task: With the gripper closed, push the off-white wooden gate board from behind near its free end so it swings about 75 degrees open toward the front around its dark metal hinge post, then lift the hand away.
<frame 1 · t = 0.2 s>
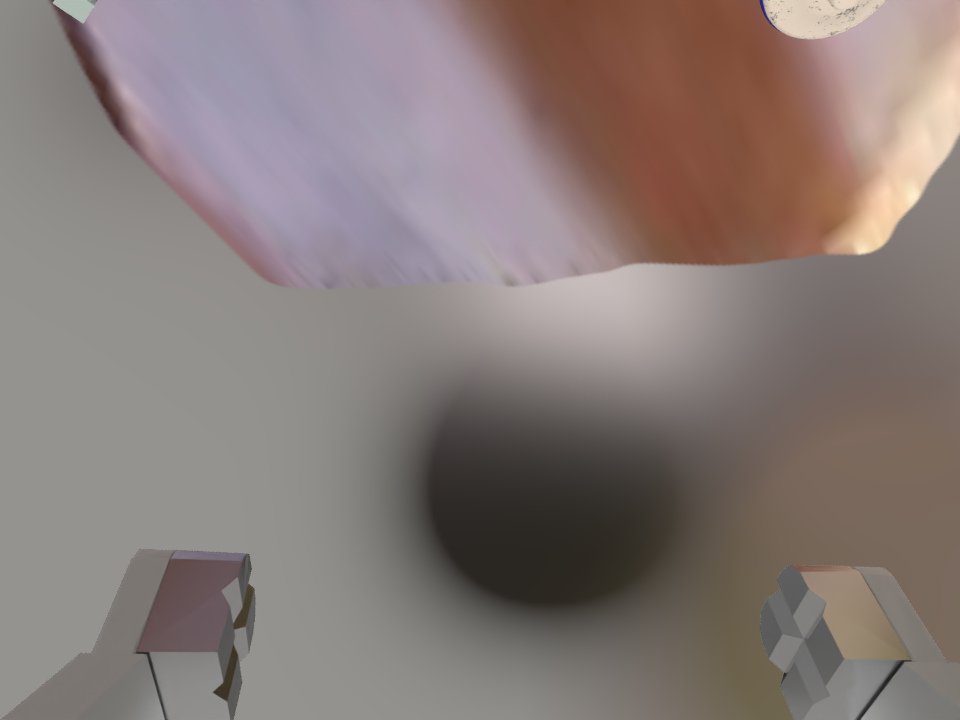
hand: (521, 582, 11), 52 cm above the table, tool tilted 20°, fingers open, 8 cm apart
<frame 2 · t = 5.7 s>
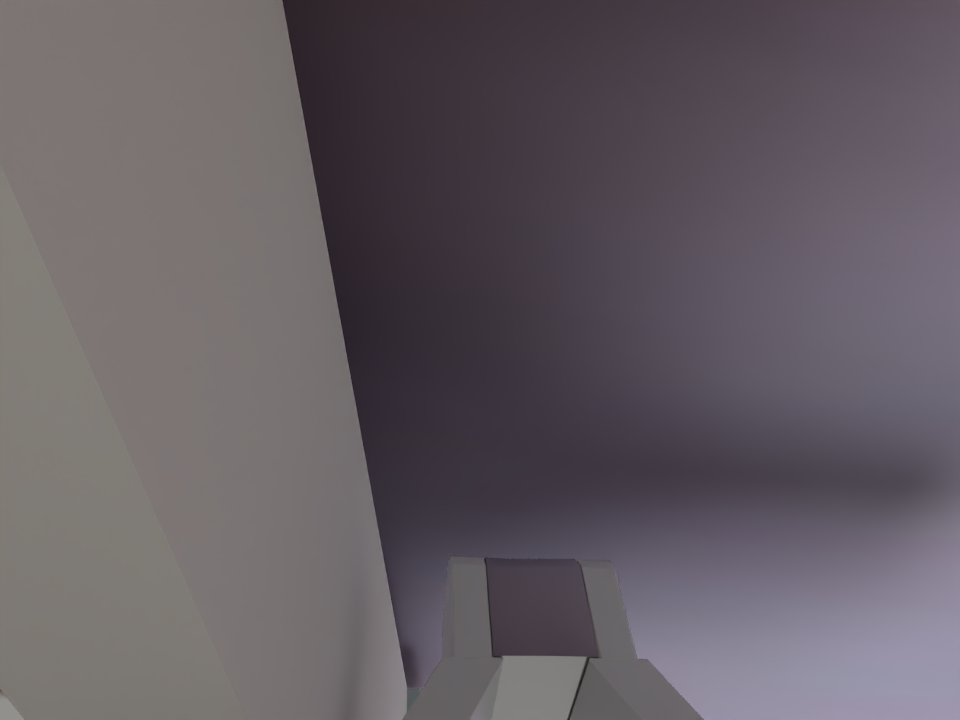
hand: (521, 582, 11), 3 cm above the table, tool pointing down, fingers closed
gate: (265, 566, 9), point 4 cm above the table, hinge at -2.0°, touching gripper
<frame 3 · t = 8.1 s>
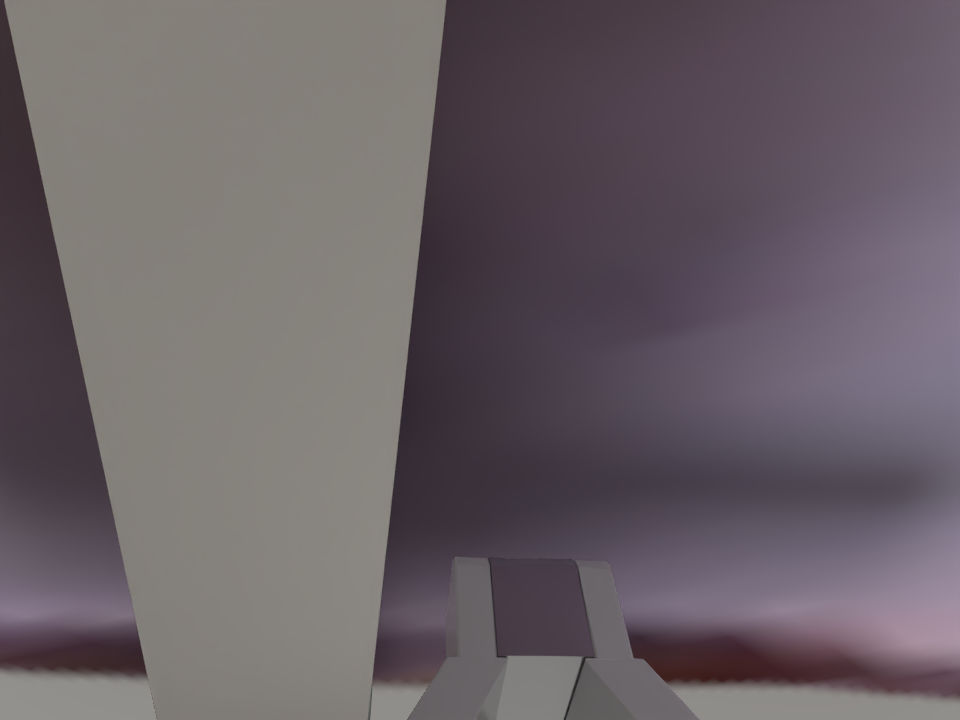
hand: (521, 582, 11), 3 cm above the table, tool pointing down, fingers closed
gate: (311, 543, 8), point 4 cm above the table, hinge at -40.0°, touching gripper
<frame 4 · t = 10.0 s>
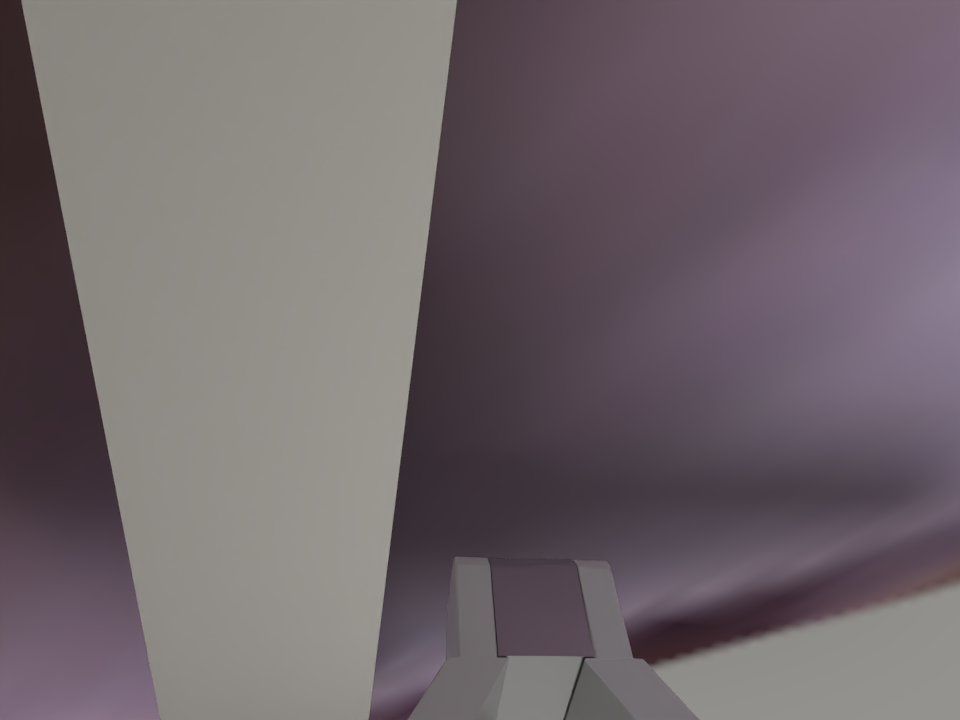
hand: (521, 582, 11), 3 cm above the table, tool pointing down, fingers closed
gate: (311, 535, 8), point 4 cm above the table, hinge at -71.0°, touching gripper
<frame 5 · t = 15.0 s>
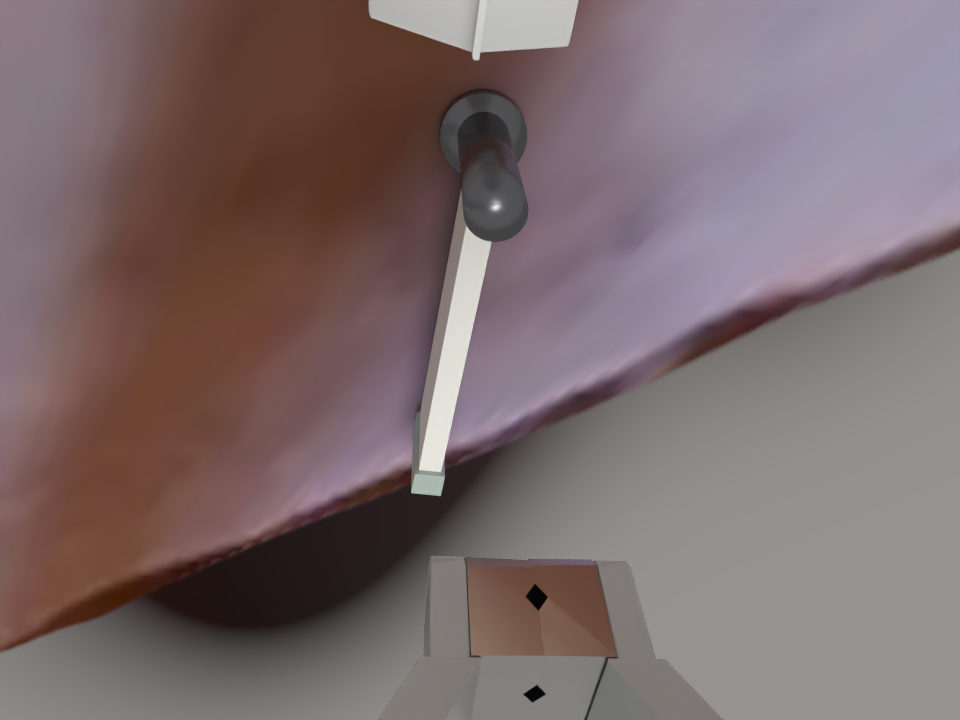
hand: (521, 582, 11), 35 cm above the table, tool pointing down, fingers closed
hinge post: (482, 133, 42), on the table
gate: (449, 344, 46), point 4 cm above the table, hinge at -80.0°
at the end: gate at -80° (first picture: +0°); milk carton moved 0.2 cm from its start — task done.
